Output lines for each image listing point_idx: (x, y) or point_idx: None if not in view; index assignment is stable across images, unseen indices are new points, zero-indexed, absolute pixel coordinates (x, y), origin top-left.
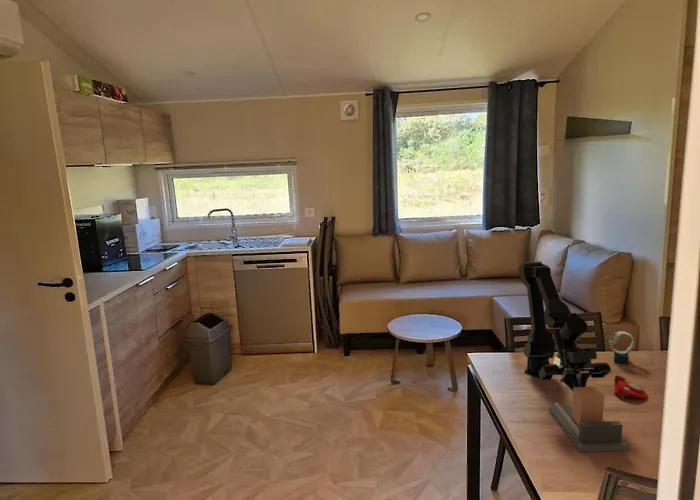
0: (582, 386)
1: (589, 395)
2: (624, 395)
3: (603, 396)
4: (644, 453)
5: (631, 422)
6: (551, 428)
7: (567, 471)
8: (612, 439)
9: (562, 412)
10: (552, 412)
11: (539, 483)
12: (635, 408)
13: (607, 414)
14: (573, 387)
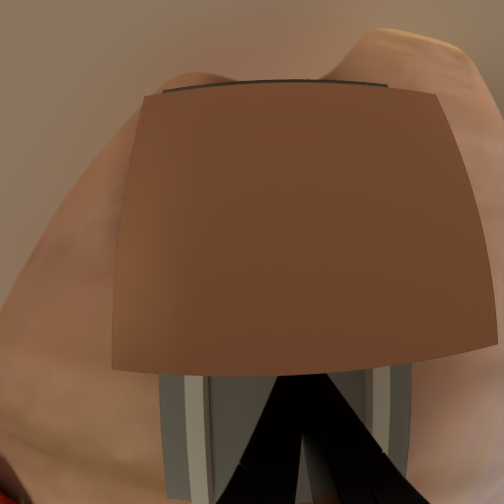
0: (284, 480)
1: (341, 95)
2: (10, 500)
3: (157, 103)
4: (130, 141)
5: (47, 351)
6: None
7: (420, 80)
8: None
9: (389, 402)
10: (404, 444)
11: (474, 68)
12: (5, 436)
13: (108, 434)
14: (497, 338)
